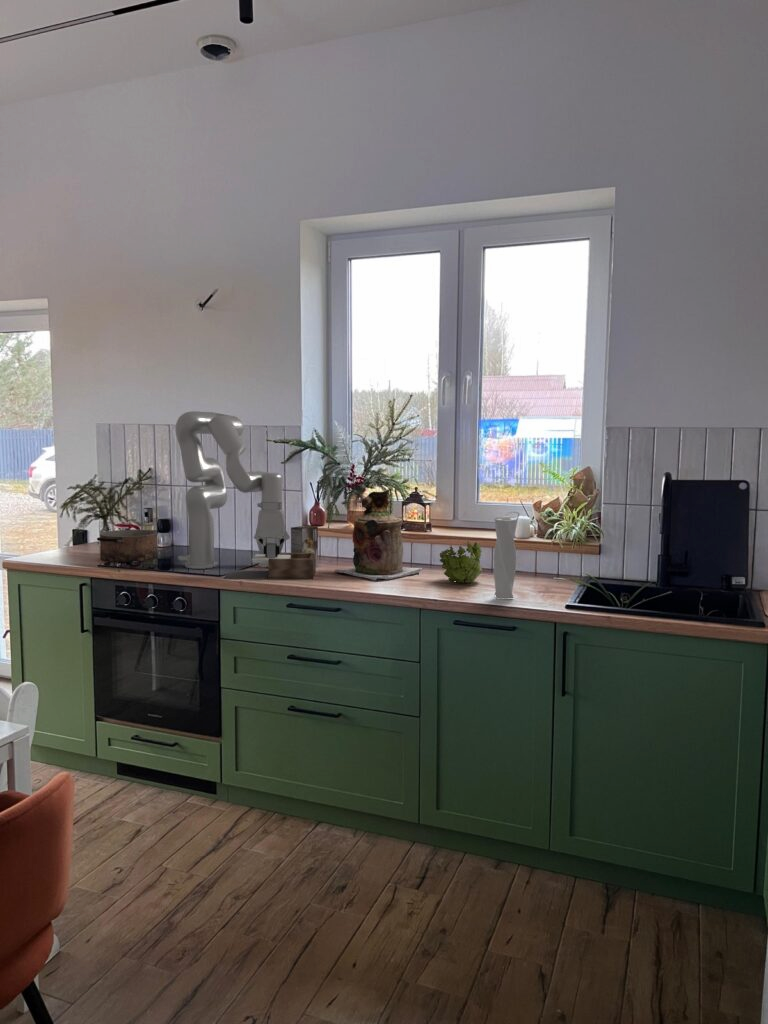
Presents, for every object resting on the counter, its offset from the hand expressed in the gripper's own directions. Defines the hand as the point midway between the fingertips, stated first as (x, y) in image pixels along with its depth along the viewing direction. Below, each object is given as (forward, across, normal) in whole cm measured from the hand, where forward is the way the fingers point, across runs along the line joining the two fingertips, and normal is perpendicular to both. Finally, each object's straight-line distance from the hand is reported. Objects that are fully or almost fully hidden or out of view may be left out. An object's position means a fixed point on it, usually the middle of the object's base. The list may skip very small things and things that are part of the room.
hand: (271, 555), depth 280 cm
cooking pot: (+8, -63, +36) cm, 72 cm away
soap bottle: (+8, -3, +17) cm, 19 cm away
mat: (+7, -9, 0) cm, 11 cm away
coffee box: (+7, +11, +17) cm, 21 cm away
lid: (+2, 0, 0) cm, 2 cm away
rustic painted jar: (+7, +40, +5) cm, 40 cm away
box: (+7, +8, 0) cm, 11 cm away
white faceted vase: (+7, +80, -36) cm, 88 cm away
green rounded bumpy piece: (+7, +69, -10) cm, 70 cm away
